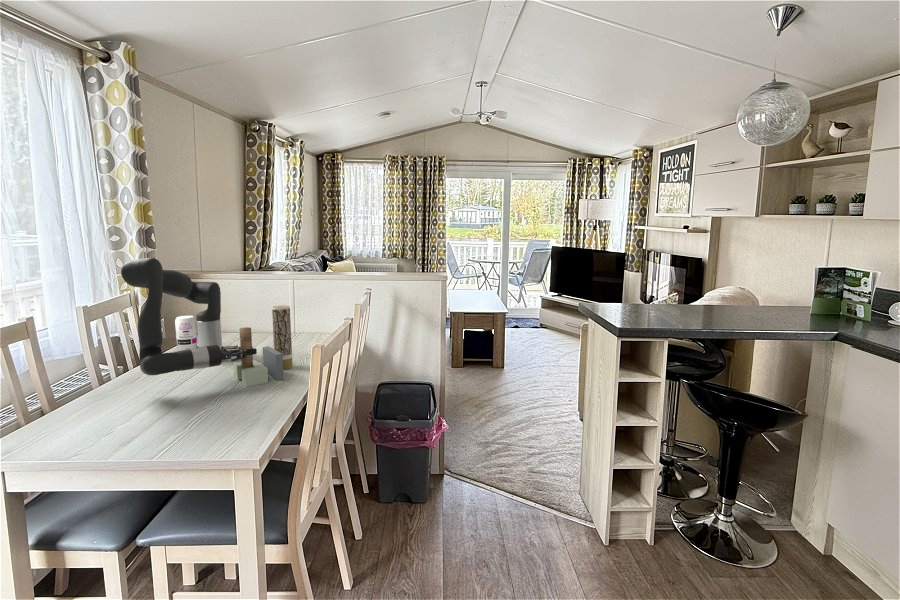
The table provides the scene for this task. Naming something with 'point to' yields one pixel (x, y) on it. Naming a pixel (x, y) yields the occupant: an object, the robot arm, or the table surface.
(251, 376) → the cradle
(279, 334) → the brown bark cylinder
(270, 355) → the wall
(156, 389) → the table surface
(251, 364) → the brown banded cylinder
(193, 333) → the supplement can
